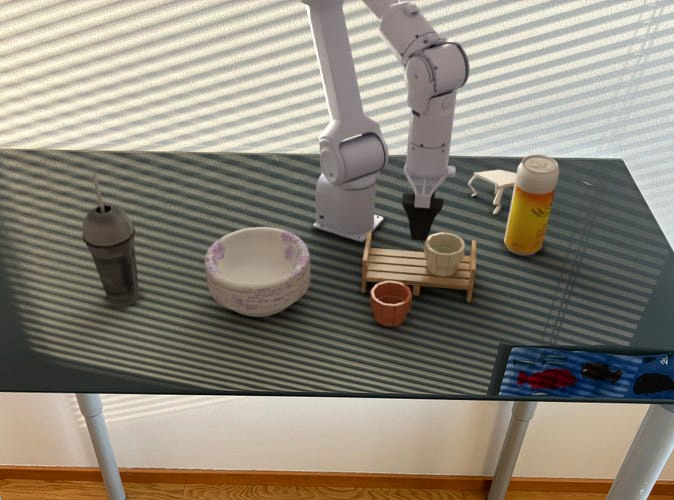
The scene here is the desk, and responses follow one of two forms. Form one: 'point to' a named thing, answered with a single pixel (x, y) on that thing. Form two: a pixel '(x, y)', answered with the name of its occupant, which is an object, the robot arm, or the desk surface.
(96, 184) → the beverage cup
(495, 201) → the white miniature table
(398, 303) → the terracotta bowl
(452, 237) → the cream bowl
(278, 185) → the desk surface
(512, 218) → the beer can
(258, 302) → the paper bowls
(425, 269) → the bowl rack
